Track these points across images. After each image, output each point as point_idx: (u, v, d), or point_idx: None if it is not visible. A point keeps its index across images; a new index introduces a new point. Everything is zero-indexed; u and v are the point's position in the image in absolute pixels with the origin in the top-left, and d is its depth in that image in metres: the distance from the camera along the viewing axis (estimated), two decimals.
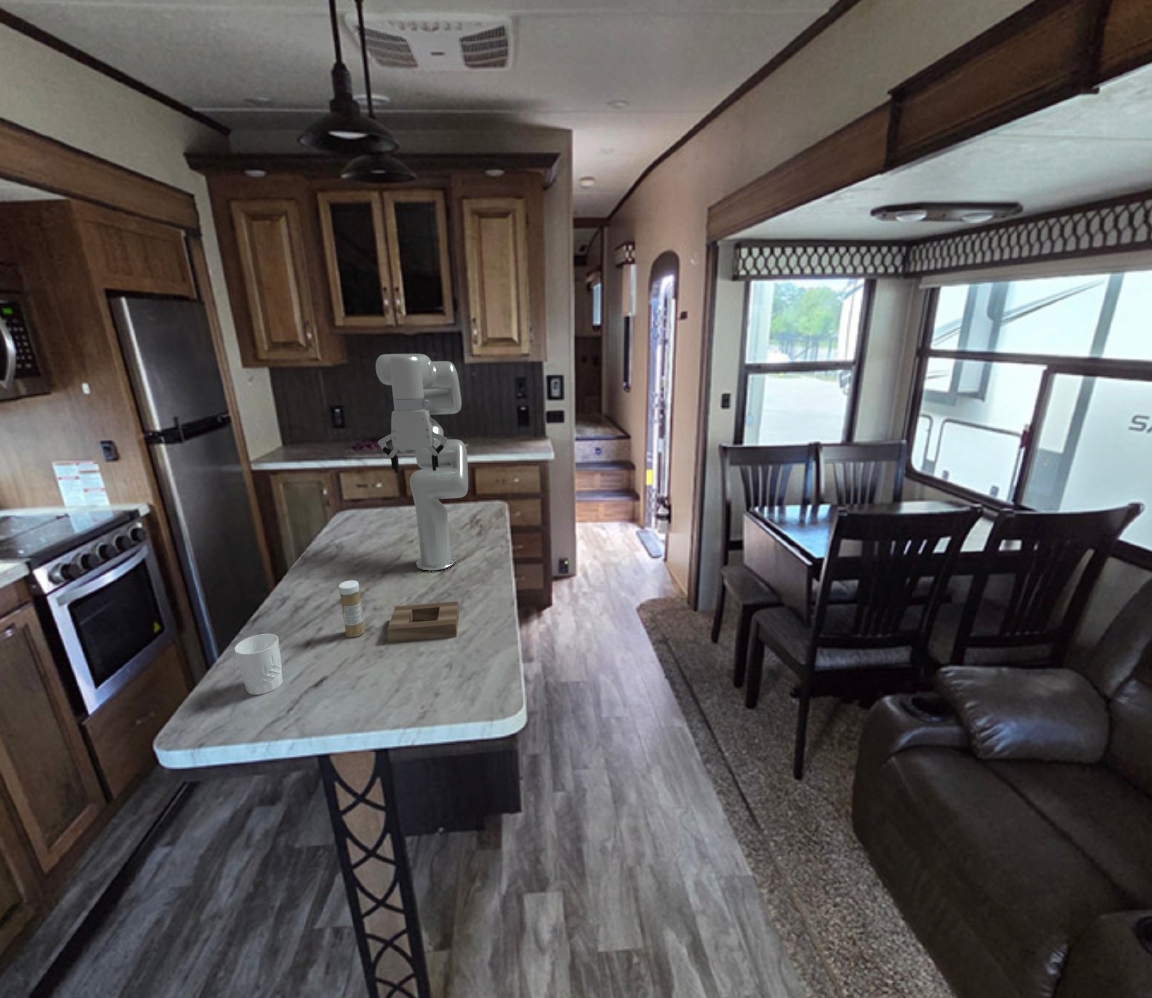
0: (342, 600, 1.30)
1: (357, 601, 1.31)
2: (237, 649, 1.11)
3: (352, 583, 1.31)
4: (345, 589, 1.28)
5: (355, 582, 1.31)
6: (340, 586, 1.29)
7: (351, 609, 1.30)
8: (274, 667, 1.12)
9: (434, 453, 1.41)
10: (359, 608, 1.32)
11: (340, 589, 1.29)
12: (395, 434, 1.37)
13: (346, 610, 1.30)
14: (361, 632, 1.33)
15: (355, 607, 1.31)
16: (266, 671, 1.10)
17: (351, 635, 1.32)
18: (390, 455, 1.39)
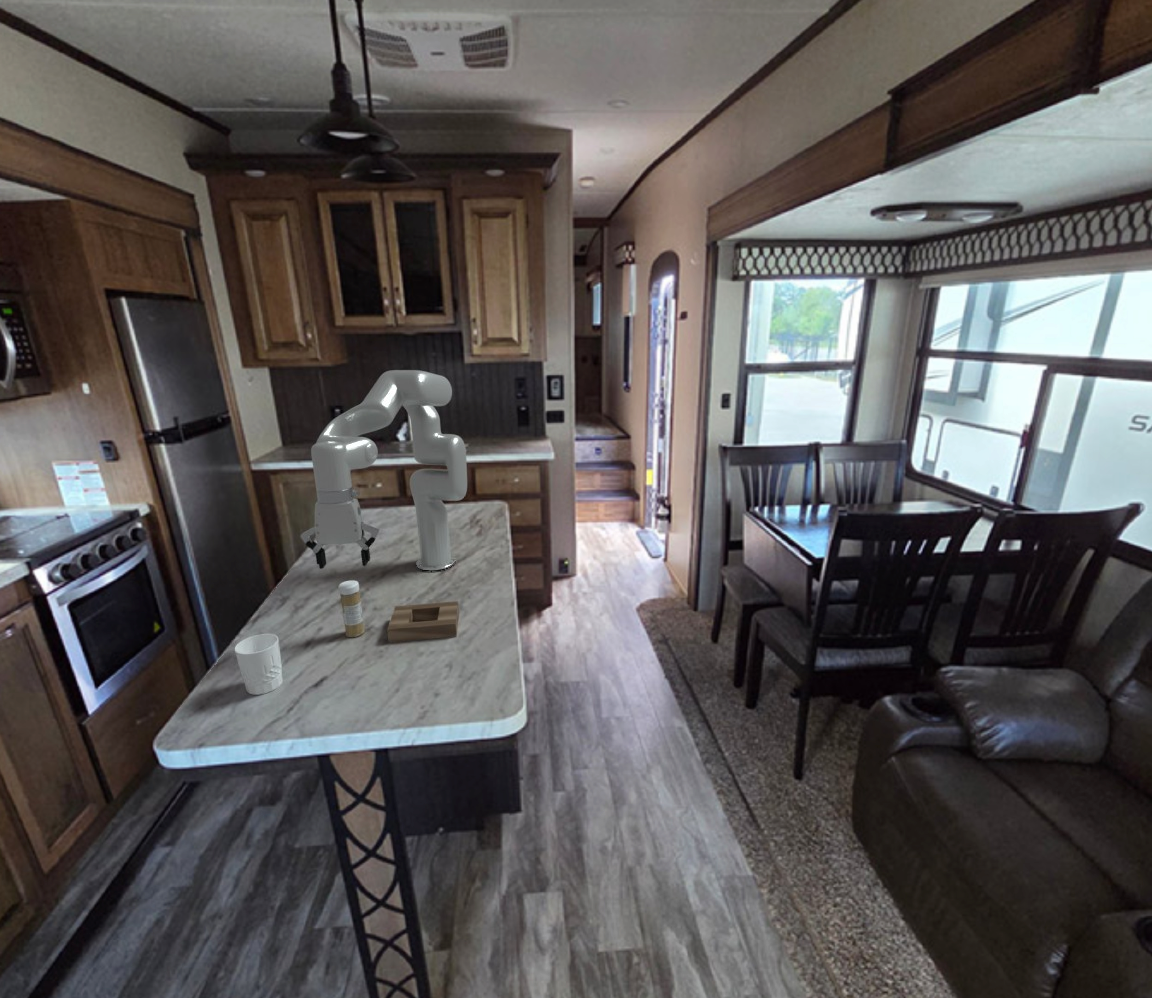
0: (342, 600, 1.30)
1: (357, 601, 1.31)
2: (237, 649, 1.11)
3: (352, 583, 1.31)
4: (345, 589, 1.28)
5: (355, 582, 1.31)
6: (340, 586, 1.29)
7: (351, 609, 1.30)
8: (274, 667, 1.12)
9: (364, 547, 1.27)
10: (359, 608, 1.32)
11: (340, 589, 1.29)
12: (319, 529, 1.23)
13: (346, 610, 1.30)
14: (361, 632, 1.33)
15: (355, 607, 1.31)
16: (266, 671, 1.10)
17: (351, 635, 1.32)
18: (314, 550, 1.25)
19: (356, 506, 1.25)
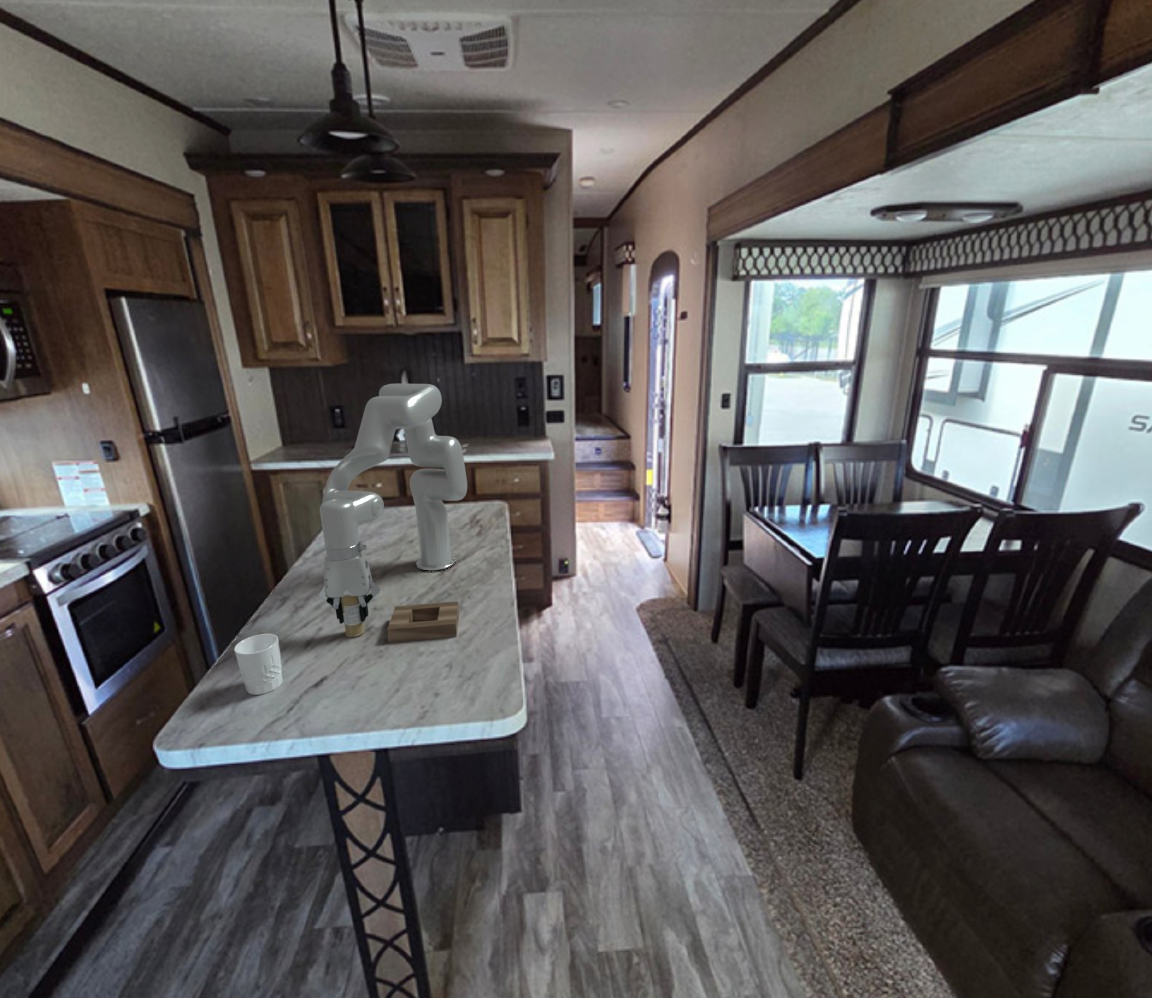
0: (342, 600, 1.30)
1: (357, 601, 1.31)
2: (237, 649, 1.11)
3: None
4: None
5: None
6: None
7: (351, 609, 1.30)
8: (274, 667, 1.12)
9: (362, 603, 1.31)
10: None
11: None
12: (328, 583, 1.27)
13: (346, 610, 1.30)
14: (361, 632, 1.33)
15: (355, 607, 1.31)
16: (266, 671, 1.10)
17: (351, 635, 1.32)
18: (334, 606, 1.30)
19: (364, 560, 1.29)
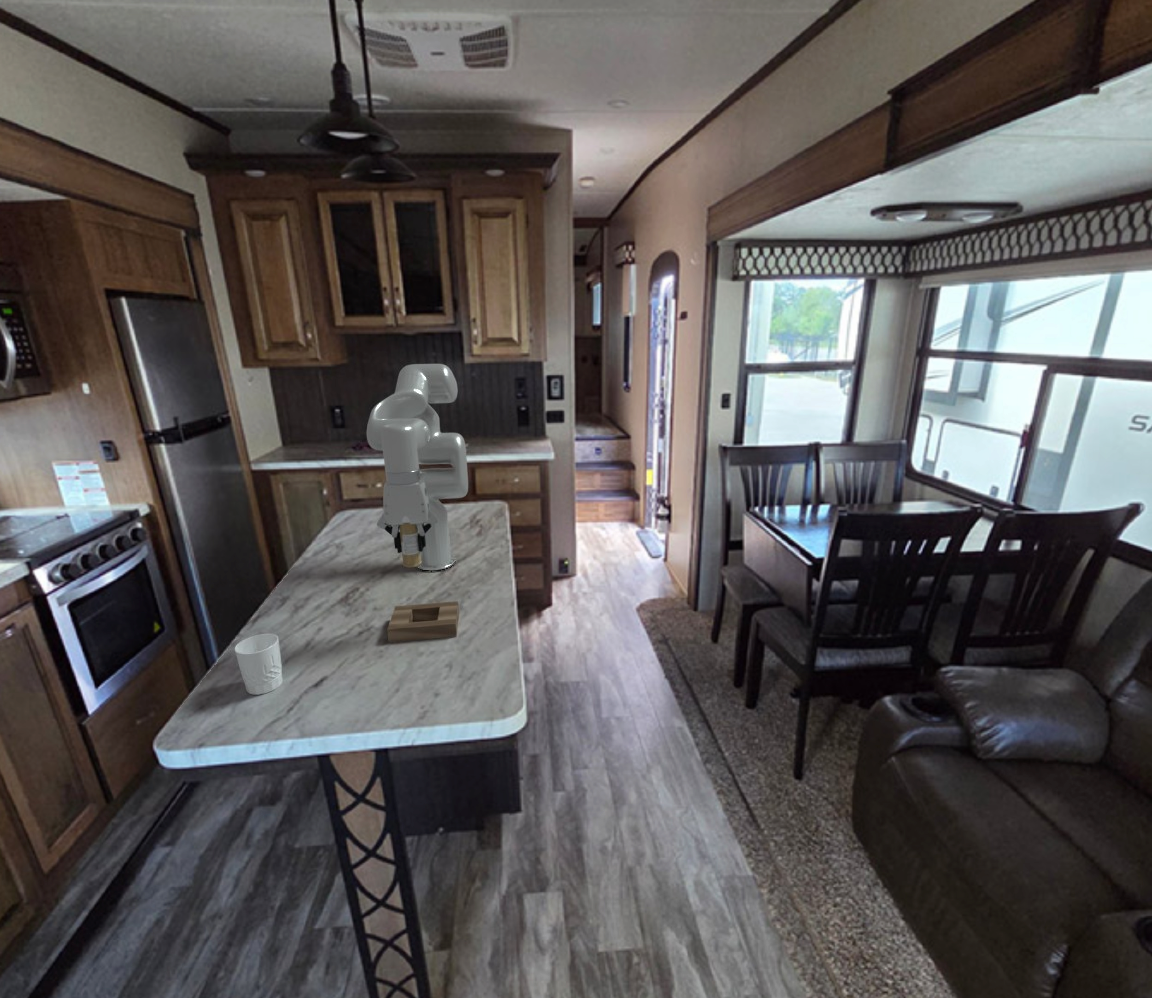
0: (401, 528, 1.27)
1: (415, 530, 1.28)
2: (237, 649, 1.11)
3: None
4: (404, 517, 1.26)
5: None
6: None
7: (410, 538, 1.28)
8: (274, 667, 1.12)
9: (421, 532, 1.29)
10: (417, 537, 1.29)
11: None
12: (388, 509, 1.25)
13: (404, 539, 1.28)
14: (418, 563, 1.31)
15: (413, 536, 1.28)
16: (266, 671, 1.10)
17: (409, 565, 1.30)
18: (393, 535, 1.28)
19: (423, 487, 1.26)
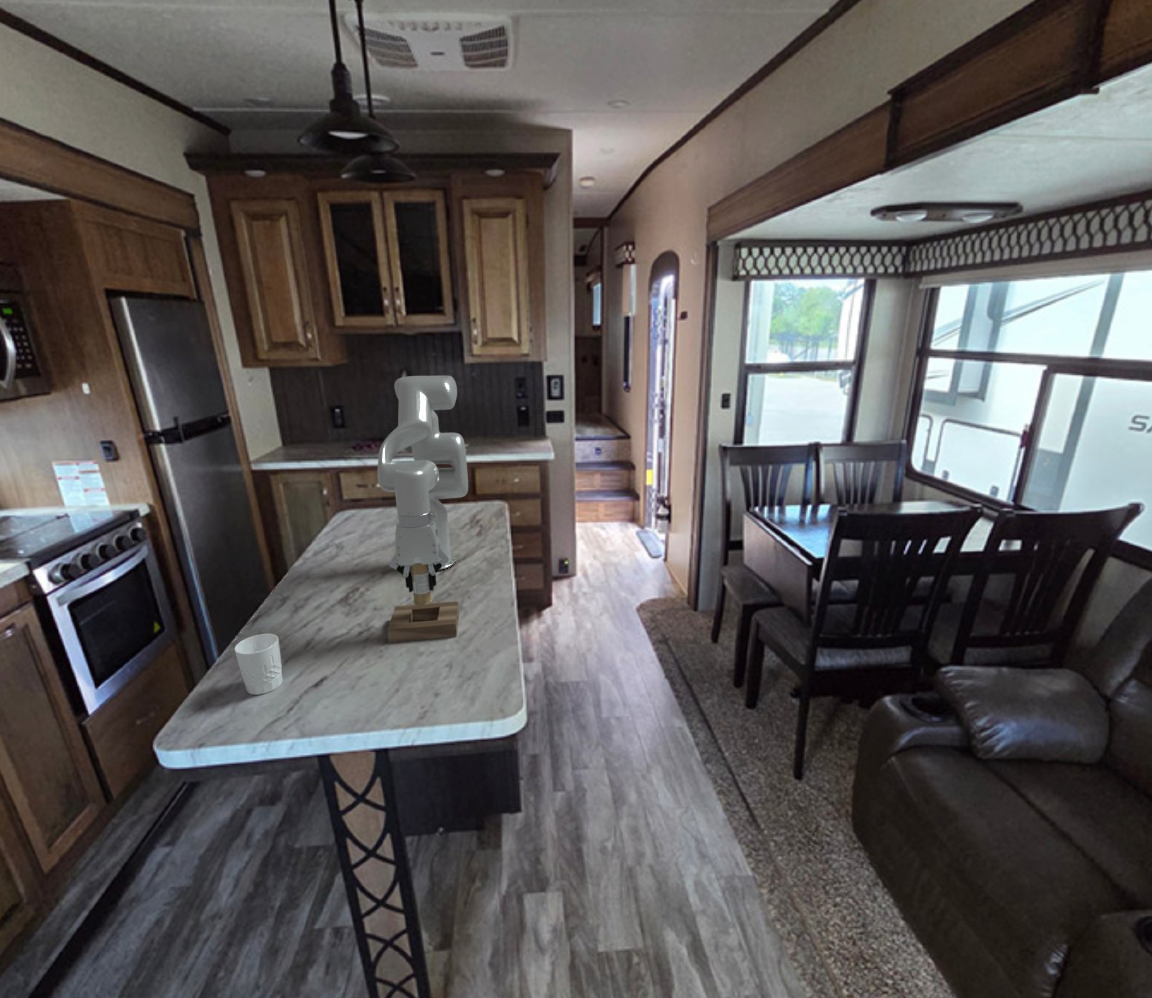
0: (412, 568, 1.30)
1: (427, 570, 1.32)
2: (237, 649, 1.11)
3: None
4: (416, 558, 1.29)
5: None
6: None
7: (421, 578, 1.31)
8: (274, 667, 1.12)
9: (432, 572, 1.32)
10: (428, 576, 1.32)
11: None
12: (400, 551, 1.28)
13: (416, 579, 1.31)
14: (429, 601, 1.34)
15: (425, 575, 1.31)
16: (266, 671, 1.10)
17: (420, 604, 1.33)
18: (404, 575, 1.31)
19: (434, 529, 1.29)
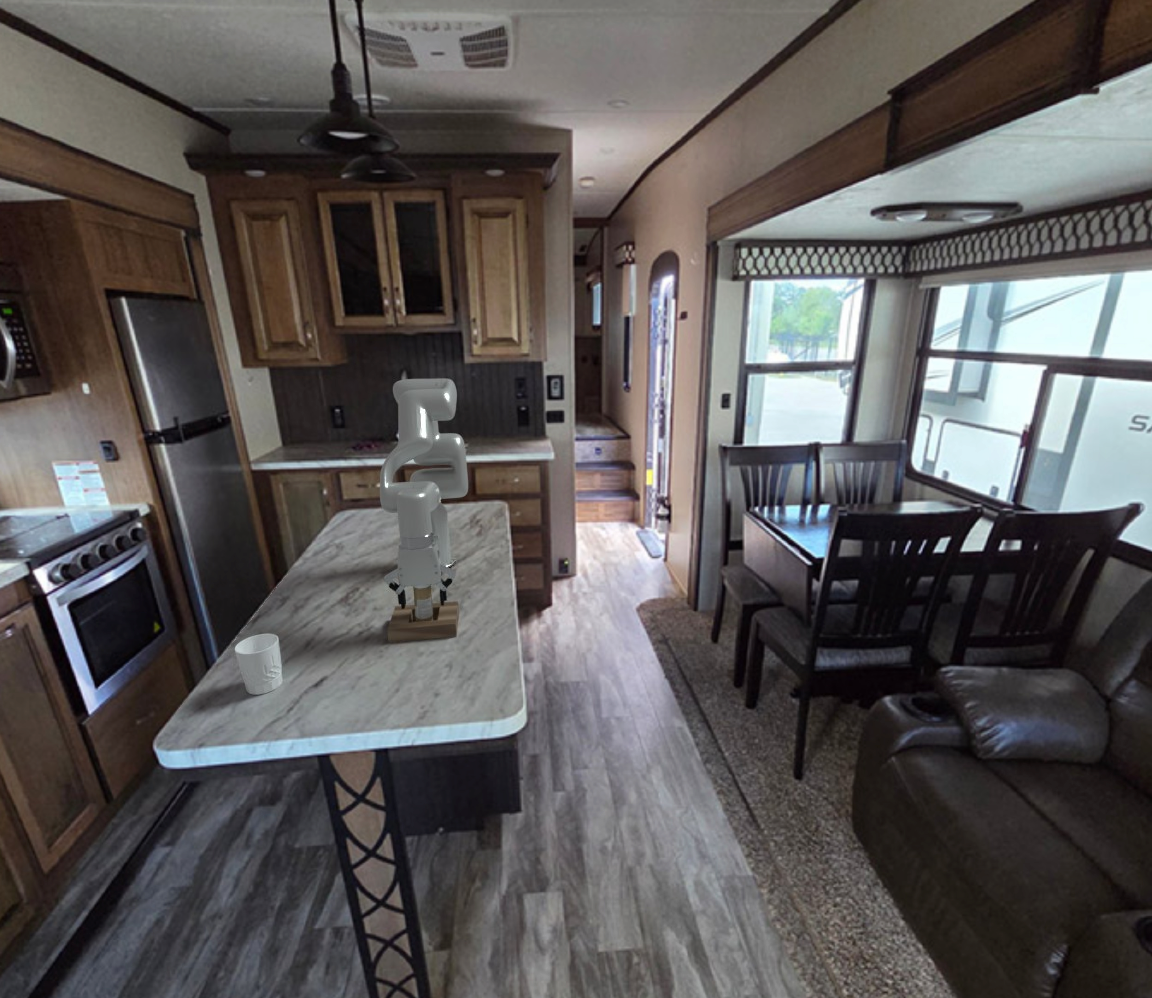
0: (415, 593, 1.33)
1: (429, 595, 1.34)
2: (237, 649, 1.11)
3: None
4: None
5: None
6: None
7: (424, 602, 1.33)
8: (274, 667, 1.12)
9: (442, 588, 1.33)
10: (430, 601, 1.34)
11: None
12: (402, 572, 1.30)
13: (419, 604, 1.33)
14: None
15: (427, 600, 1.33)
16: (266, 671, 1.10)
17: None
18: (397, 592, 1.32)
19: (436, 550, 1.31)
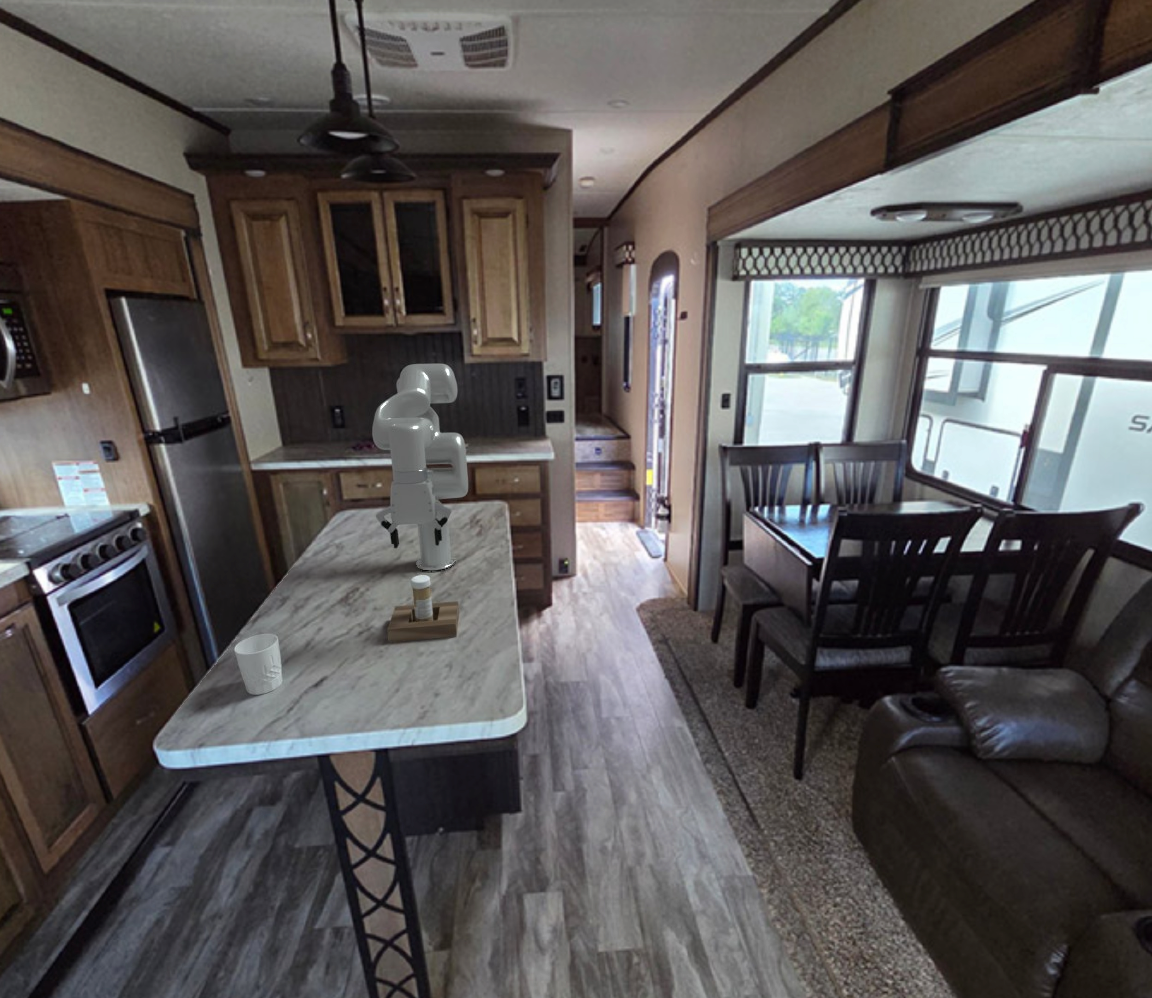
0: (414, 594, 1.32)
1: (429, 595, 1.34)
2: (237, 649, 1.11)
3: (424, 577, 1.33)
4: (418, 584, 1.31)
5: (426, 576, 1.34)
6: (413, 580, 1.32)
7: (424, 603, 1.33)
8: (274, 667, 1.12)
9: (437, 527, 1.29)
10: (430, 602, 1.34)
11: (413, 583, 1.31)
12: (395, 508, 1.25)
13: (418, 604, 1.33)
14: None
15: (427, 601, 1.33)
16: (266, 671, 1.10)
17: None
18: (389, 530, 1.27)
19: (430, 486, 1.26)
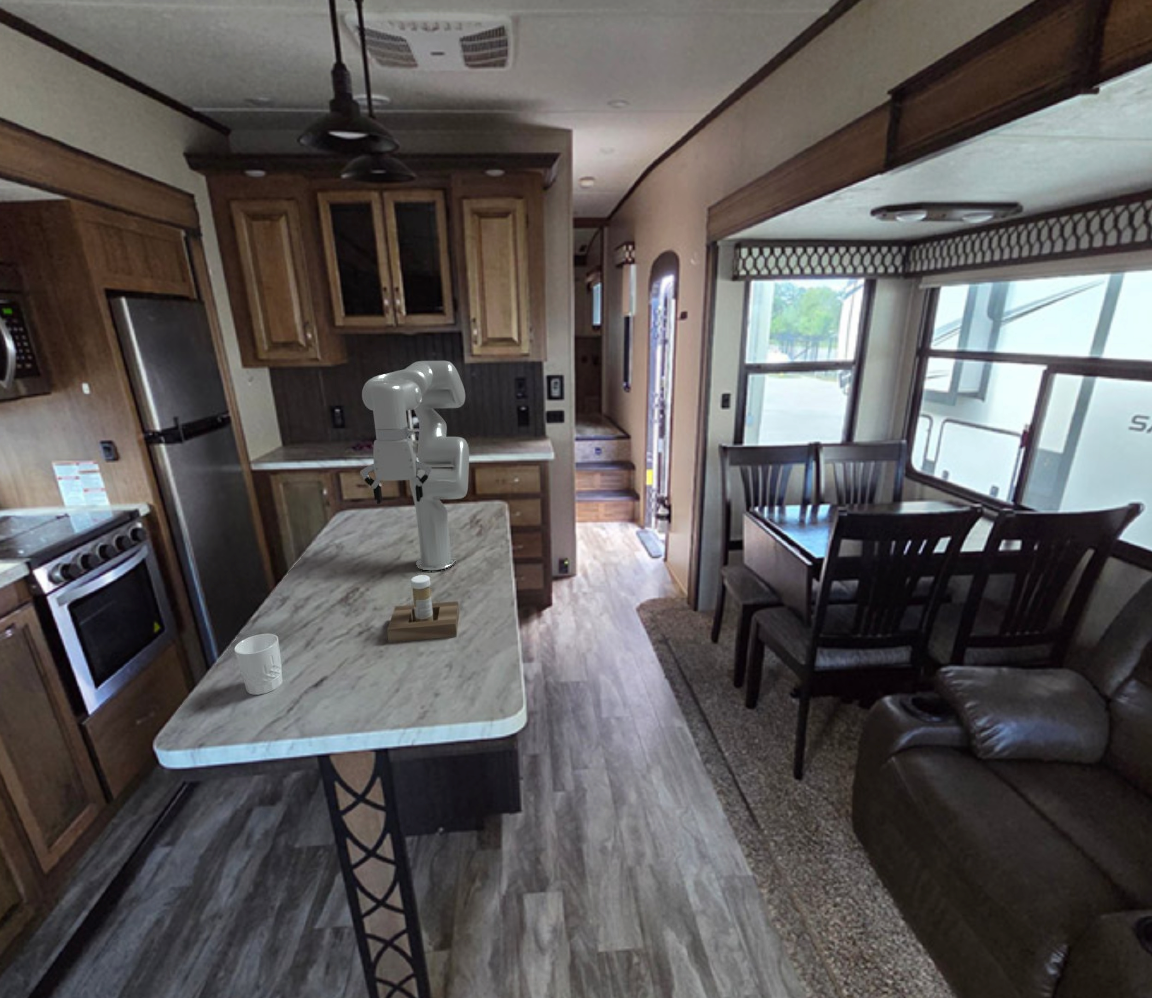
0: (414, 594, 1.32)
1: (428, 595, 1.34)
2: (237, 649, 1.11)
3: (424, 577, 1.33)
4: (418, 584, 1.31)
5: (426, 576, 1.34)
6: (413, 580, 1.32)
7: (423, 603, 1.33)
8: (274, 667, 1.12)
9: (418, 483, 1.36)
10: (430, 602, 1.34)
11: (413, 583, 1.31)
12: (378, 465, 1.33)
13: (418, 604, 1.33)
14: None
15: (427, 601, 1.33)
16: (266, 671, 1.10)
17: None
18: (372, 486, 1.35)
19: (411, 444, 1.34)
